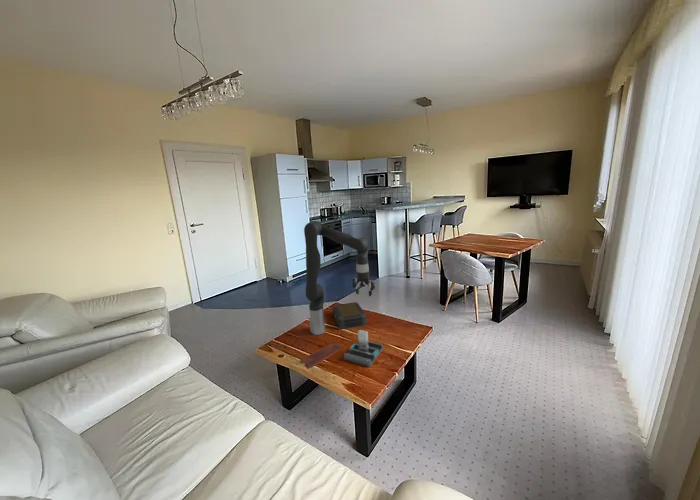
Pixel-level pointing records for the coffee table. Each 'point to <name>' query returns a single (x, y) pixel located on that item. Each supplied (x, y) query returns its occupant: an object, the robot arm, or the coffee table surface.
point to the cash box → (349, 315)
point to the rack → (364, 353)
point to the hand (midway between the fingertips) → (363, 295)
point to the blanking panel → (363, 340)
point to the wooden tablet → (320, 355)
